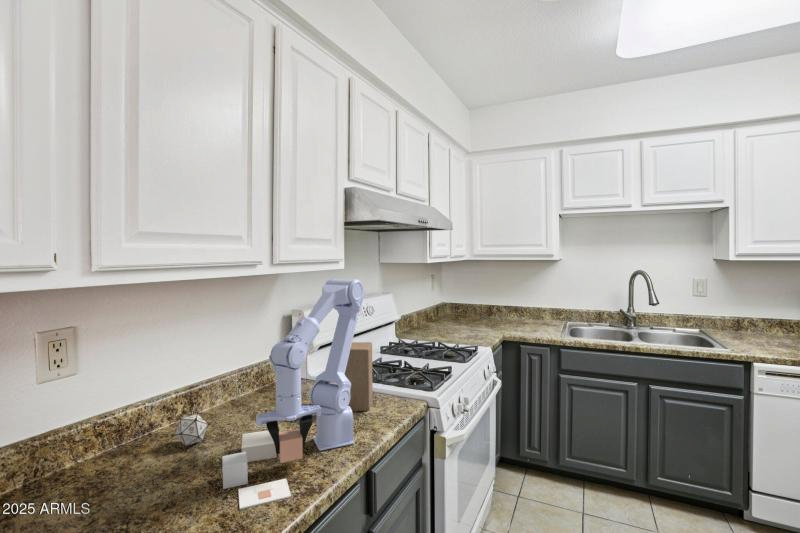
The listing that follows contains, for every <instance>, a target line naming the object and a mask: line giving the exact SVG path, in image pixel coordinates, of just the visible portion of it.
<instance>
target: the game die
mask: <svg viewBox="0 0 800 533" xmlns="http://www.w3.org/2000/svg"><path fill="white" fill-rule="evenodd" d="M199 413H200V410H198V411H196V414H192V415H189V416H185V417H181V416H178V417H177V418H178V420H179V422H178V425H177V427H176V429H175V433H174V434H172V435H171V437H172V438H173V437H176V438H177V440H178V441H180V442H181V444H183V445H184V447H183V450H184V451H185V450H186V449H187V446H191V445H193V444H197V443H200V442H202V443H205V442H206V441H205V440H204V439H205V438H204V437H205V435H206V433H207V431H208V430H207V429H208V426H210V425H212V422H207V421H206V420H205V419H204V418H203V417H202V416H201V415H200V414H199Z"/></svg>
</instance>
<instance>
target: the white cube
mask: <svg viewBox="0 0 800 533" xmlns="http://www.w3.org/2000/svg"><path fill="white" fill-rule="evenodd" d="M248 473H249V472H248V462H247V455H246V452H242V451H241V452H237V453H233V454H226V455H222V489H223V490H224V489H230V488H235V487H239V486H244V485H247V484H249V481H248V479H249V478H248V475H249V474H248Z"/></svg>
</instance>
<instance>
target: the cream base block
mask: <svg viewBox="0 0 800 533" xmlns="http://www.w3.org/2000/svg"><path fill="white" fill-rule="evenodd" d="M241 438H242V439H241V452H246V455H247V463H251V462H256V461H263V460H269V459H273V458H274V459H276V458H277V454H276V450H275V444H274V441H273V439H272V437H271V435H270V433H269V431H268V429H267V430H262V431H255V432H249V433H247V432H246V433H242V437H241Z"/></svg>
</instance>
